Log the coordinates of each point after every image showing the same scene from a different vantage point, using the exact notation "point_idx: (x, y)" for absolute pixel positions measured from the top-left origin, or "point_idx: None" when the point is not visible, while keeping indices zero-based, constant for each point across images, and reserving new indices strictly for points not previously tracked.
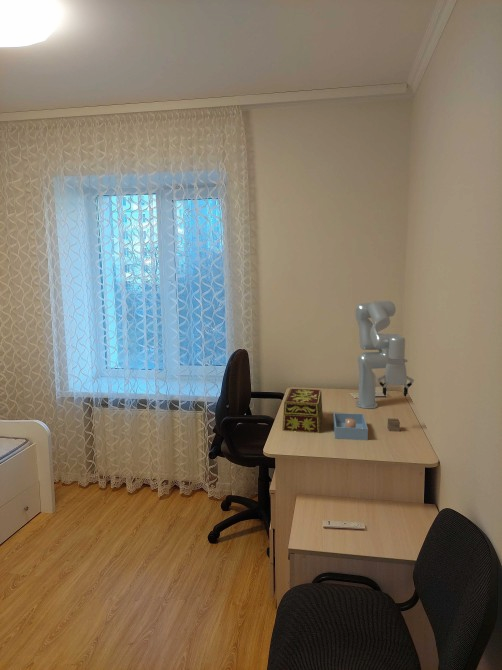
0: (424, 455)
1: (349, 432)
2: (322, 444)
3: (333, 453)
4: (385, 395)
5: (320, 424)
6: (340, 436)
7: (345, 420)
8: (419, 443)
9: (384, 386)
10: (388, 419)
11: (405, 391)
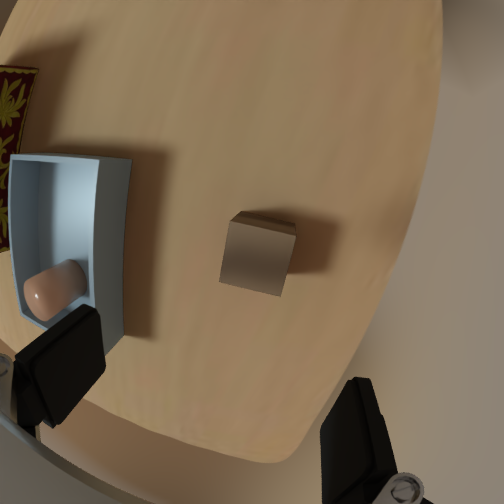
0: (270, 445)
1: None
2: (30, 326)
3: None
4: (98, 370)
5: (7, 198)
6: None
7: (26, 294)
8: (304, 392)
9: (24, 426)
10: (226, 243)
11: (325, 481)
